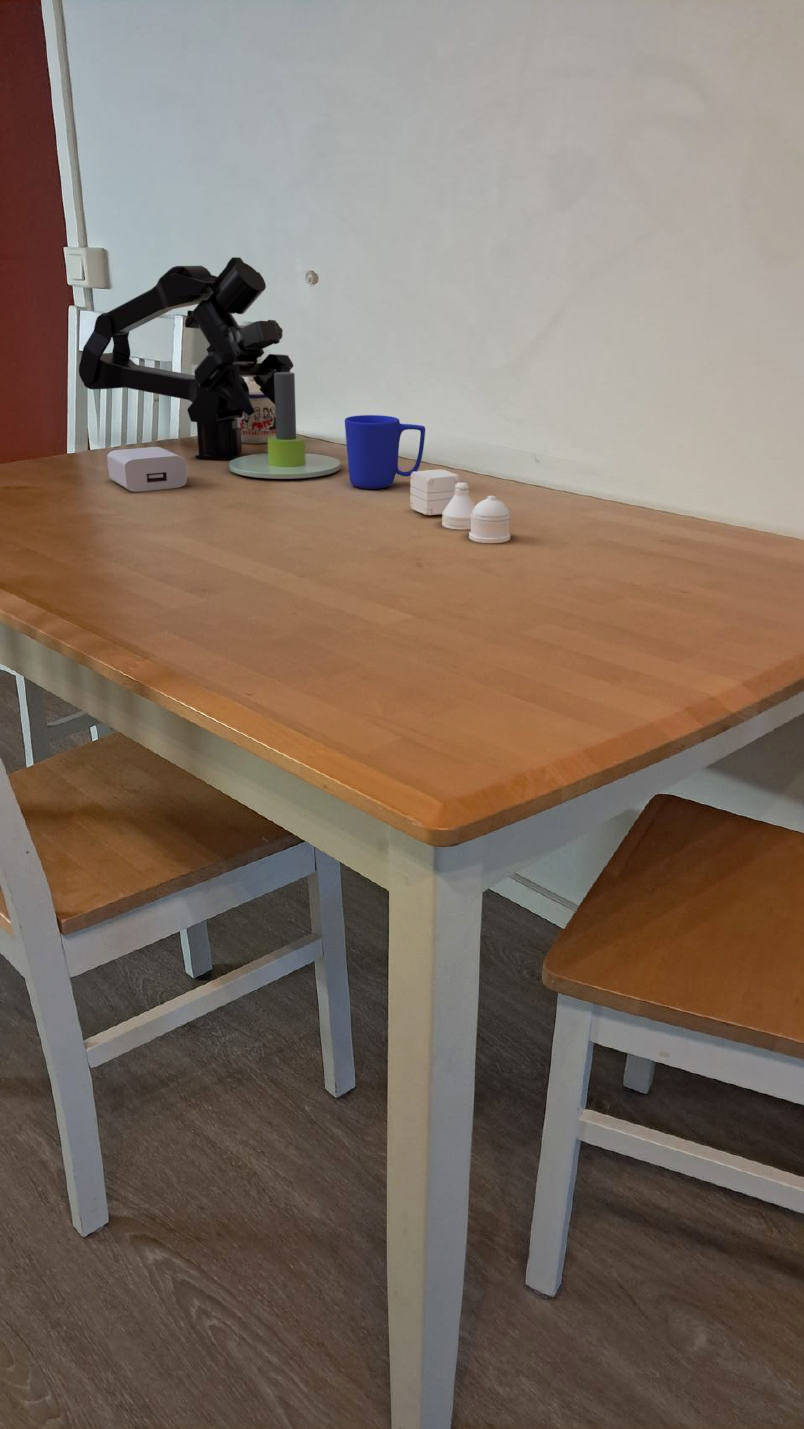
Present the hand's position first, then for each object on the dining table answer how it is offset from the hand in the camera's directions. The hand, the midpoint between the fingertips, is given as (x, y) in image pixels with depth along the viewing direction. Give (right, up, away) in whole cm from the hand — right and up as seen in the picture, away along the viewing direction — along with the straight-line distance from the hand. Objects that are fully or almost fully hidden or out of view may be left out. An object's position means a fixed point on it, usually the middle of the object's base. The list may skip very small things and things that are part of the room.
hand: (270, 413), depth 173 cm
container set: (+29, -24, -31) cm, 49 cm away
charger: (-19, -13, -8) cm, 24 cm away
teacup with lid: (-5, +2, +27) cm, 27 cm away
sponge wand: (+3, -8, 0) cm, 9 cm away
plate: (+2, -9, +1) cm, 9 cm away
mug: (+19, -14, -10) cm, 25 cm away
